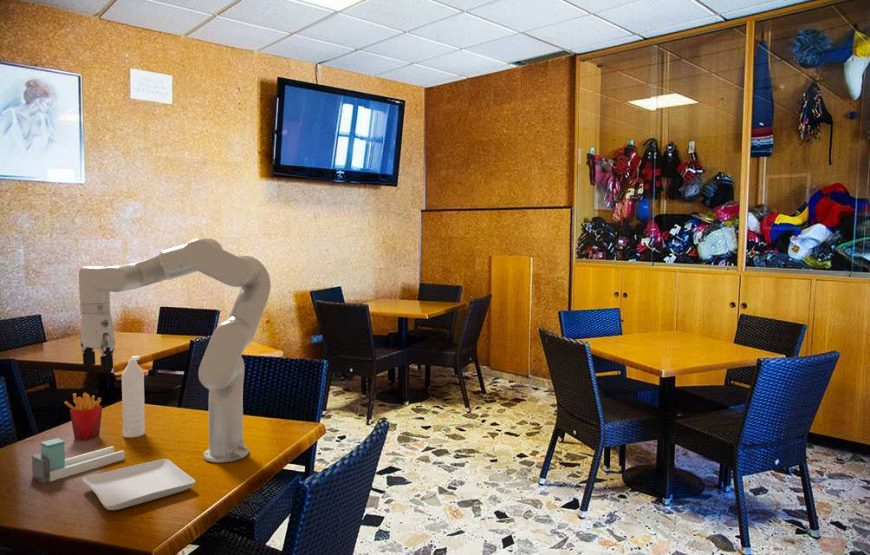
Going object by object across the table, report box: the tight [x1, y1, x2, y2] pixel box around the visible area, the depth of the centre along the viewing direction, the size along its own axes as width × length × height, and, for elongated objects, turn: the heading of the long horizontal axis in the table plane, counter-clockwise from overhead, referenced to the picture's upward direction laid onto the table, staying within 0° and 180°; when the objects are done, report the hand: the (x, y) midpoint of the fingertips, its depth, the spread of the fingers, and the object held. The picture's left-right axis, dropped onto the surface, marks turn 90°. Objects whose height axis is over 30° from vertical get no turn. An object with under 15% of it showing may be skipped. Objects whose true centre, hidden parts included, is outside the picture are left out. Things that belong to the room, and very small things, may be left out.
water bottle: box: [121, 355, 146, 439], centre depth 191 cm, size 9×6×25 cm
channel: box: [31, 445, 125, 485], centre depth 163 cm, size 7×21×6 cm, turn 146°
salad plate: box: [82, 458, 196, 511], centre depth 150 cm, size 21×21×3 cm
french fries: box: [63, 392, 103, 442], centre depth 186 cm, size 9×8×15 cm
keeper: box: [40, 437, 66, 471], centre depth 157 cm, size 4×4×8 cm
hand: (98, 367), depth 170 cm, fingers open, 9 cm apart
